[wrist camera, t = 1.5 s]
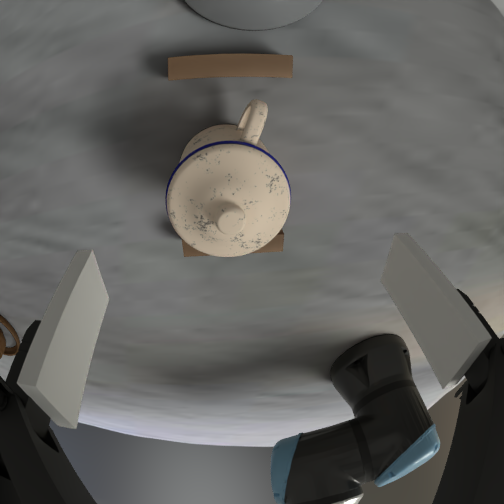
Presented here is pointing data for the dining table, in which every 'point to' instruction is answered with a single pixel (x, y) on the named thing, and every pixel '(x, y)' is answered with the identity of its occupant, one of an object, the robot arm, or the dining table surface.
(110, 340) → the dining table surface
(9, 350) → the place setting
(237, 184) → the teacup with lid
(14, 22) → the dining table surface
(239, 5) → the grey flat disc
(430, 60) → the dining table surface
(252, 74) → the walnut cradle
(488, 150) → the dining table surface
